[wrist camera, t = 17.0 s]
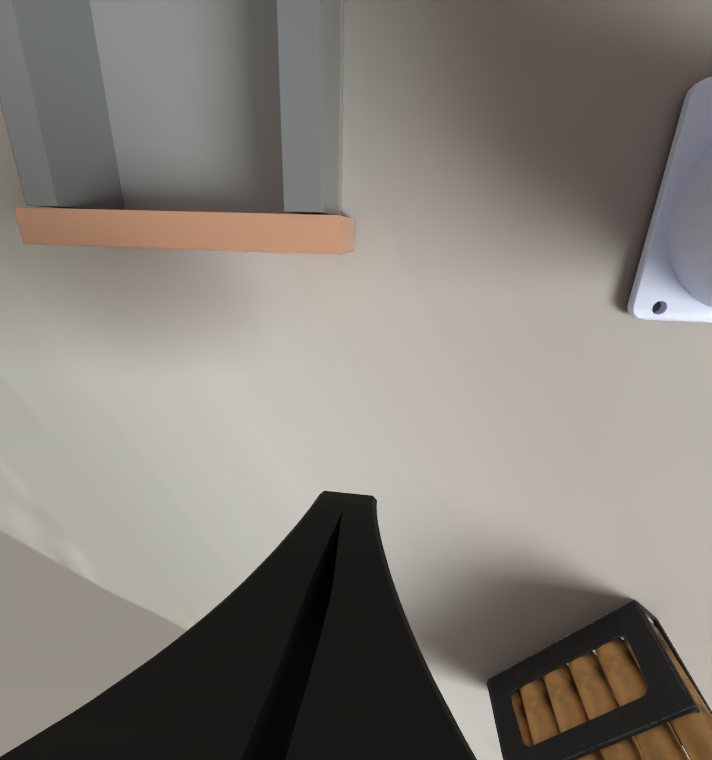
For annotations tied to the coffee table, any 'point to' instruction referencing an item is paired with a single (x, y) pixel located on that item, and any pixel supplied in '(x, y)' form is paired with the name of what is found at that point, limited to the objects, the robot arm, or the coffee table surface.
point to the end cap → (188, 230)
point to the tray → (175, 104)
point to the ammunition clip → (603, 697)
